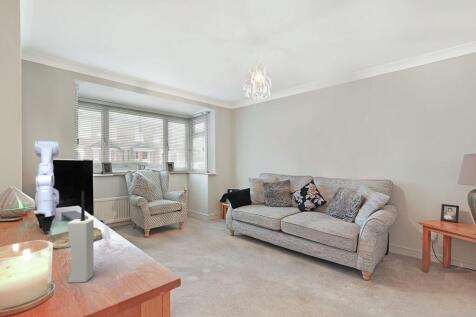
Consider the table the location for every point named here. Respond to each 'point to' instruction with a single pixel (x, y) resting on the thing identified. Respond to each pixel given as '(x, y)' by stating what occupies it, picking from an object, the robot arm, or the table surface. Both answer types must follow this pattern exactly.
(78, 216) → the hood
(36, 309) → the table surface
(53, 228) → the mint green slab
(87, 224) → the vintage mobile phone
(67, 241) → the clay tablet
